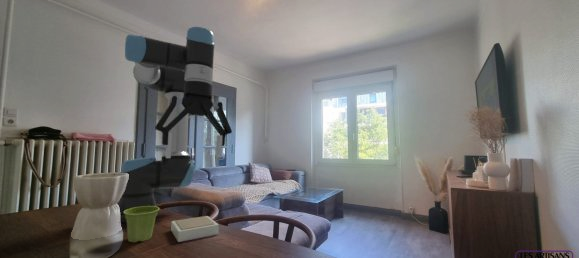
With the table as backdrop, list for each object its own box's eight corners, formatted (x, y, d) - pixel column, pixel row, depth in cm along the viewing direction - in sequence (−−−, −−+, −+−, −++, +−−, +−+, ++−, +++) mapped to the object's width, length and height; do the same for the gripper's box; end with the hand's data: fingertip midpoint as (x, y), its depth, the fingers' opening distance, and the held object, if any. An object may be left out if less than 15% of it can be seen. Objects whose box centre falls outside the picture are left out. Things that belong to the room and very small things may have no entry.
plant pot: (164, 235, 76) (166, 207, 76) (138, 246, 66) (140, 215, 67) (141, 232, 78) (143, 205, 79) (113, 242, 69) (115, 212, 70)
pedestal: (171, 230, 80) (171, 220, 80) (207, 224, 87) (207, 215, 87) (178, 242, 70) (178, 230, 70) (218, 234, 77) (218, 223, 77)
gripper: (150, 71, 58) (144, 159, 56) (244, 87, 72) (241, 157, 71) (146, 77, 64) (141, 157, 62) (234, 91, 78) (231, 156, 77)
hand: (194, 157), depth 67 cm, fingers open, 13 cm apart
